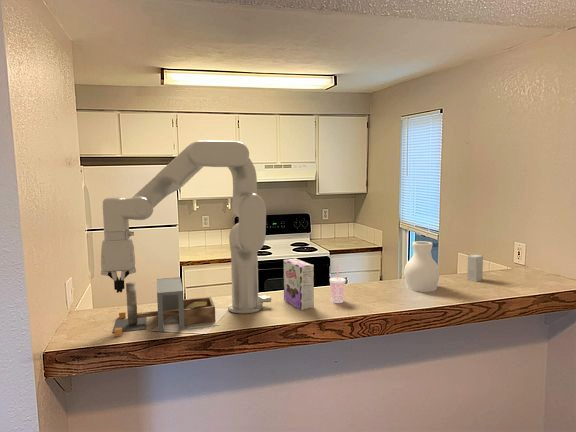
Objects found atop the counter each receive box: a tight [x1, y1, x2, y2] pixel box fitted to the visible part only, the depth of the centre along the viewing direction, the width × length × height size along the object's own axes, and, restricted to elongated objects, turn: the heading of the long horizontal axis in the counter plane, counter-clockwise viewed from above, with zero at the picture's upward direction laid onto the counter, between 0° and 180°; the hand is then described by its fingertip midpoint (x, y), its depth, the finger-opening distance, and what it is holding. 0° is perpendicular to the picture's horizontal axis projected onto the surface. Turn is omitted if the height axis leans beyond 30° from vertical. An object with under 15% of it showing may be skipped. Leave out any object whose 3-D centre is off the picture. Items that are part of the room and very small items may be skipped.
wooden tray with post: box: [125, 281, 216, 326], centre depth 148 cm, size 28×12×14 cm, turn 107°
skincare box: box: [466, 253, 484, 283], centre depth 193 cm, size 6×4×12 cm
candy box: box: [282, 258, 315, 311], centre depth 164 cm, size 14×6×16 cm, turn 27°
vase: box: [403, 240, 441, 293], centre depth 182 cm, size 14×14×20 cm
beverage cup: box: [329, 265, 346, 304], centre depth 166 cm, size 6×6×14 cm
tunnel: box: [111, 276, 220, 337], centre depth 148 cm, size 33×20×12 cm, turn 107°
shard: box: [185, 302, 207, 309], centre depth 150 cm, size 11×8×2 cm
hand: (119, 291), depth 143 cm, fingers closed
